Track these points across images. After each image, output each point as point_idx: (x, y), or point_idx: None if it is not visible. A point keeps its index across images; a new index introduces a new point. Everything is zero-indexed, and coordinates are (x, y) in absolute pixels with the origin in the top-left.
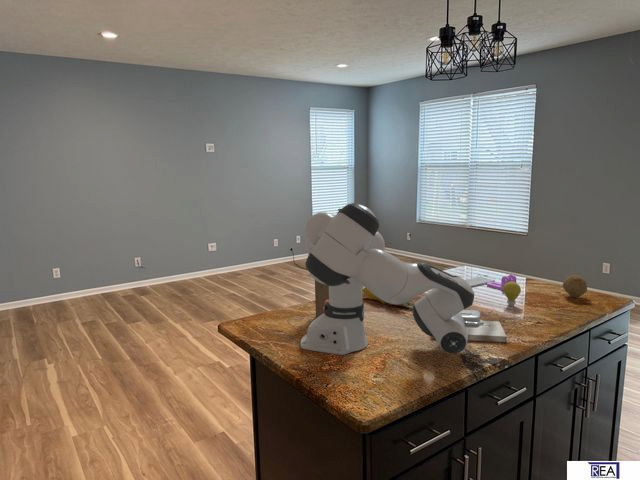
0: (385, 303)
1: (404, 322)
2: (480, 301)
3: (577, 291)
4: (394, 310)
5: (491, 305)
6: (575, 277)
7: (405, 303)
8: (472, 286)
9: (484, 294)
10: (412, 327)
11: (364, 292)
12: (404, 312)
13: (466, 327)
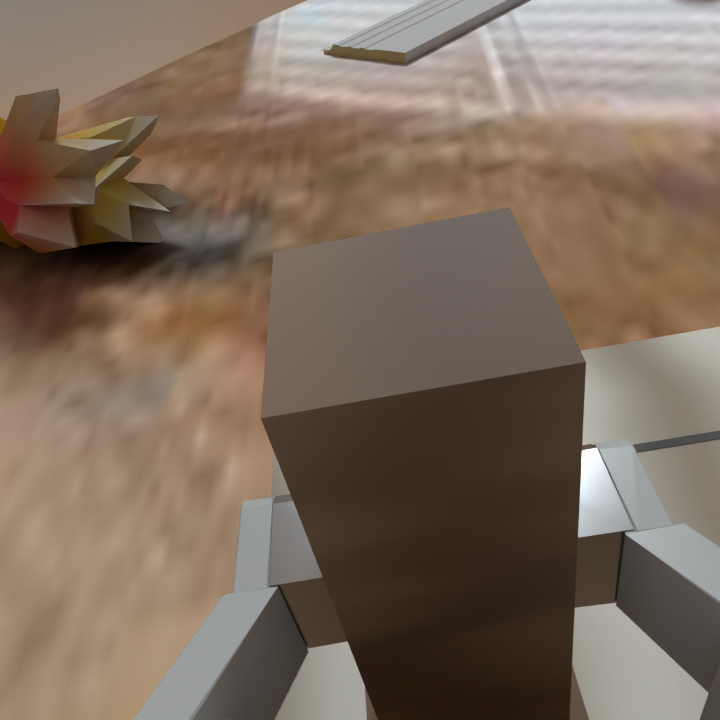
0: (18, 243)
1: (53, 480)
2: (598, 78)
3: None
4: (47, 305)
5: (681, 91)
6: None
7: (122, 226)
8: (513, 2)
9: (592, 30)
10: (97, 577)
11: None
12: (110, 312)
13: (707, 522)
